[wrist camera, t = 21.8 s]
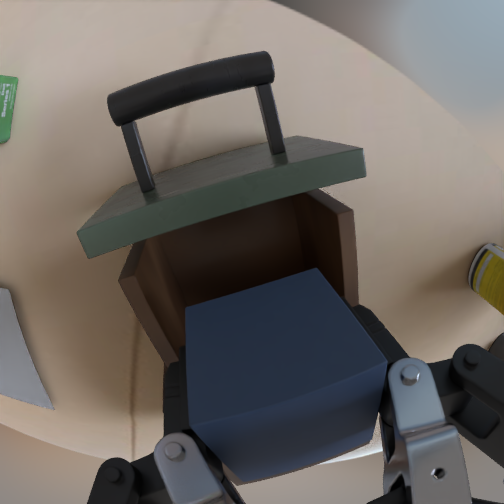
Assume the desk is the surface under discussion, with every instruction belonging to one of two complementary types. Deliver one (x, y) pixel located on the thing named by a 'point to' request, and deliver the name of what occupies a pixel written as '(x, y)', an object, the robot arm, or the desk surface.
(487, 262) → the pill bottle
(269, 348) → the block
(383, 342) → the robot arm
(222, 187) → the drawer
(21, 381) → the paper stack
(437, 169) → the desk surface
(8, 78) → the ink box
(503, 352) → the bottle
